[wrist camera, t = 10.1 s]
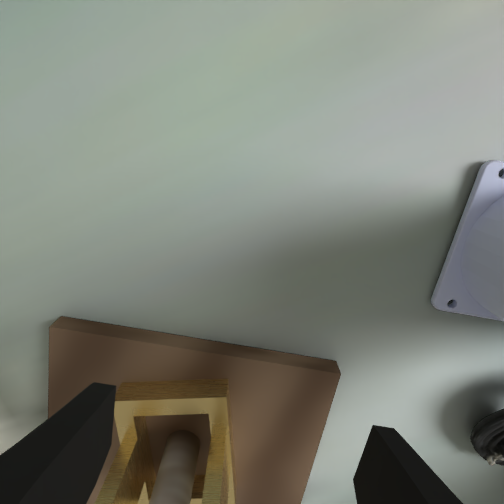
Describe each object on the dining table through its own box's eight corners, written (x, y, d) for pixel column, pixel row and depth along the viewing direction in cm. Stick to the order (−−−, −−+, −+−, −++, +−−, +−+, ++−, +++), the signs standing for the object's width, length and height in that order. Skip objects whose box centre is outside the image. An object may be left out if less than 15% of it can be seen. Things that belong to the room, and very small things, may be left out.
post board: (336, 361, 20) (368, 445, 15) (288, 518, 24) (299, 633, 18) (61, 316, 20) (-19, 387, 14) (57, 486, 23) (-7, 597, 18)
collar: (228, 378, 19) (219, 465, 14) (236, 486, 22) (231, 594, 16) (121, 382, 19) (73, 470, 14) (141, 488, 22) (106, 598, 17)
